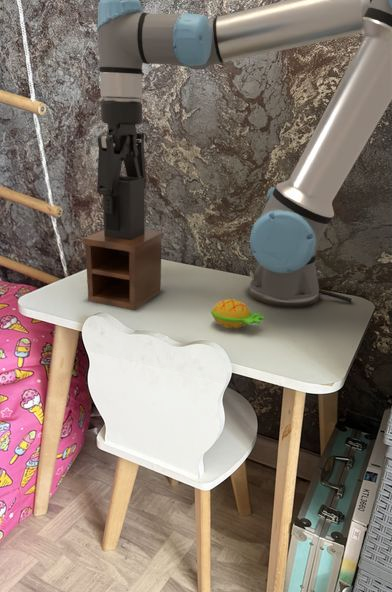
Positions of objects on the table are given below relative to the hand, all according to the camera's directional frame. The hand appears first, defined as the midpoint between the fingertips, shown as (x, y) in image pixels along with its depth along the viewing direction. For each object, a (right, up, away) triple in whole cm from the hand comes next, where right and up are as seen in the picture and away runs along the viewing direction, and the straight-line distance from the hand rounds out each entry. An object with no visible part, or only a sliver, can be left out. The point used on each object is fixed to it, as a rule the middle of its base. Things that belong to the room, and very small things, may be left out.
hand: (124, 225), depth 105 cm
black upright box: (0, -2, +1) cm, 2 cm away
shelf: (-1, -14, +7) cm, 15 cm away
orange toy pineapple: (+22, -21, -6) cm, 31 cm away
